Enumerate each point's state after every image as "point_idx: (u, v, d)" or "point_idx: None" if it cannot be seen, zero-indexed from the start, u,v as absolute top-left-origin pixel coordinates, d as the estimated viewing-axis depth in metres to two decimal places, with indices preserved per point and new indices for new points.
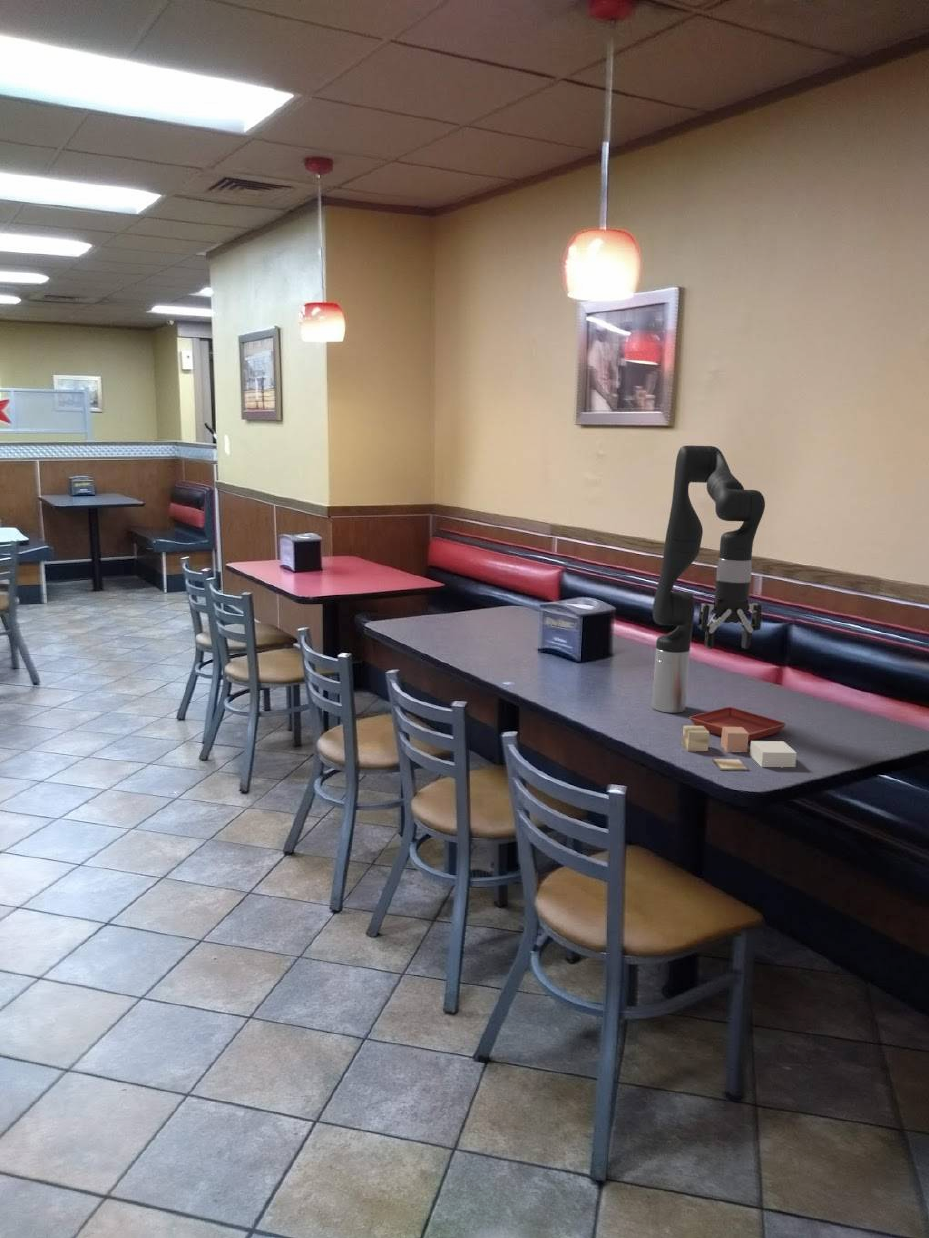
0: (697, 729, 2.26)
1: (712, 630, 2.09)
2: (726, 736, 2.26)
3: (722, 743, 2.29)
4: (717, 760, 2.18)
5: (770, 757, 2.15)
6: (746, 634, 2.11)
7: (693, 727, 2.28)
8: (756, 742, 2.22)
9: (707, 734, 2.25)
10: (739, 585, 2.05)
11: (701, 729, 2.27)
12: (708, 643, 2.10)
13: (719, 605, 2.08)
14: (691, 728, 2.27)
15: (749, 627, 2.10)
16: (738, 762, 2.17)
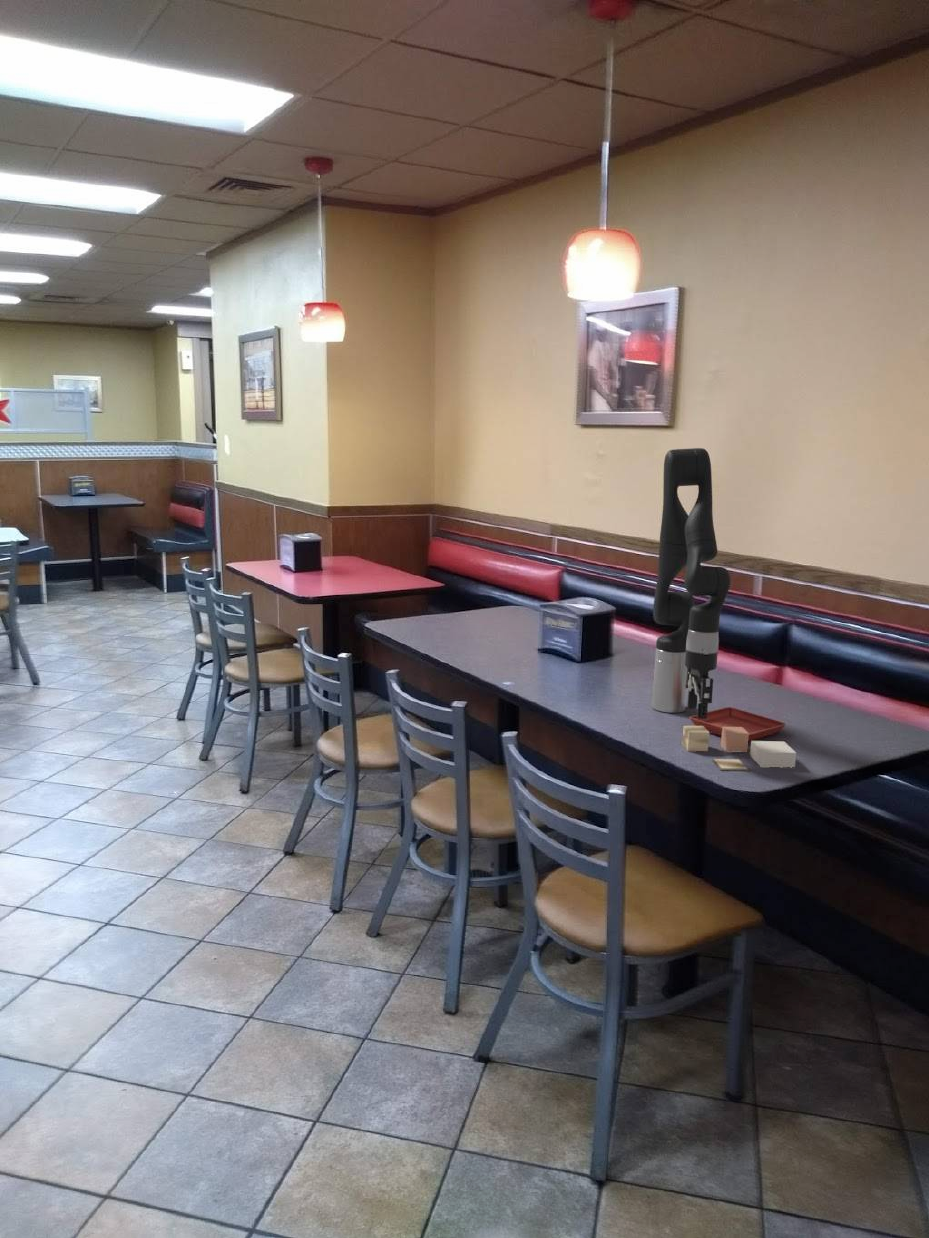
0: (697, 729, 2.26)
1: None
2: (726, 736, 2.26)
3: (722, 743, 2.29)
4: (717, 760, 2.18)
5: (769, 757, 2.15)
6: (696, 695, 2.29)
7: (693, 727, 2.28)
8: (756, 742, 2.22)
9: (707, 734, 2.25)
10: None
11: (701, 729, 2.27)
12: None
13: None
14: (691, 728, 2.27)
15: None
16: (738, 762, 2.17)
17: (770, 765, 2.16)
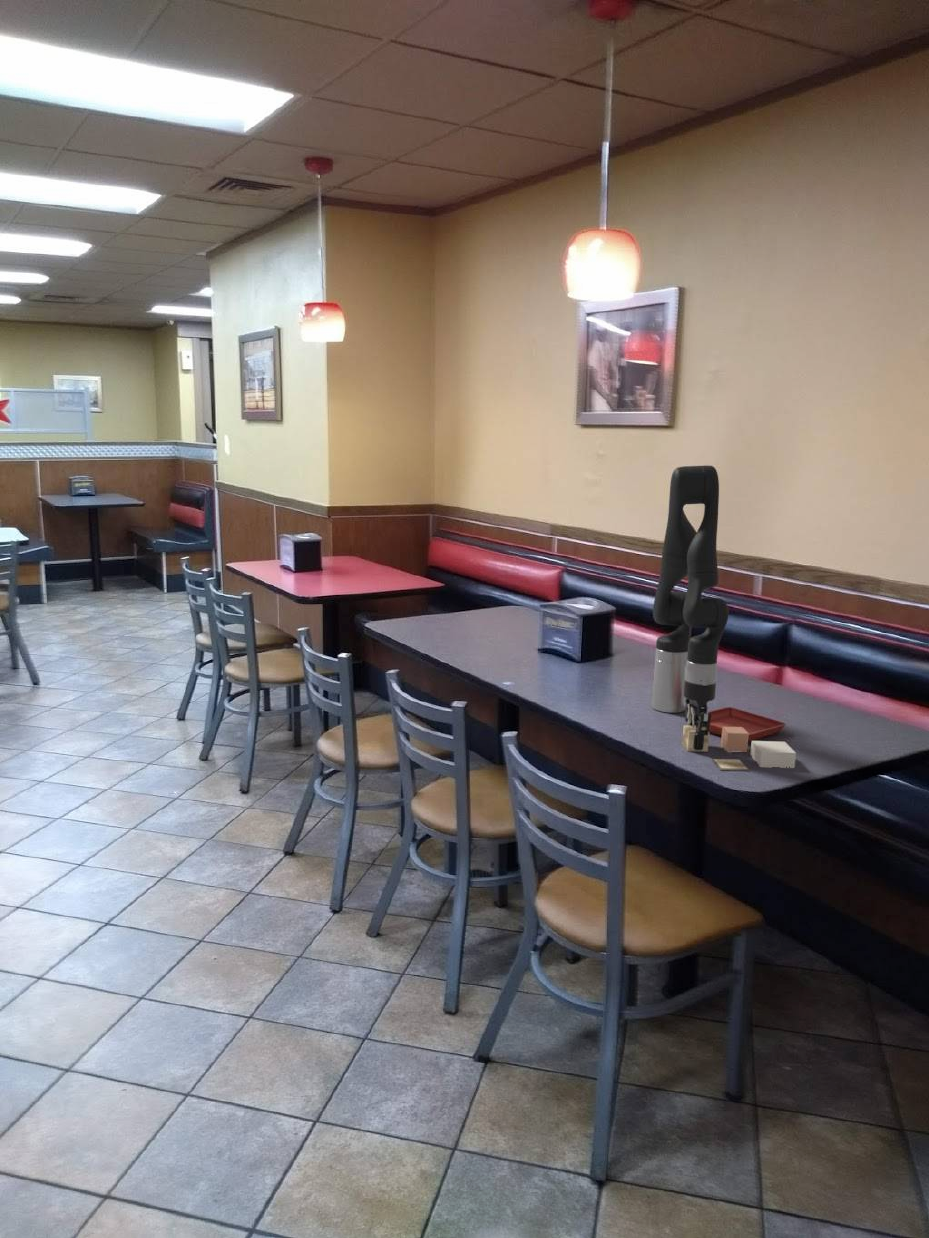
0: None
1: None
2: (726, 736, 2.26)
3: (722, 743, 2.29)
4: (717, 760, 2.18)
5: (769, 757, 2.15)
6: None
7: (693, 727, 2.28)
8: (756, 742, 2.22)
9: None
10: None
11: (701, 728, 2.27)
12: None
13: None
14: (691, 727, 2.27)
15: None
16: (738, 762, 2.17)
17: (769, 765, 2.16)
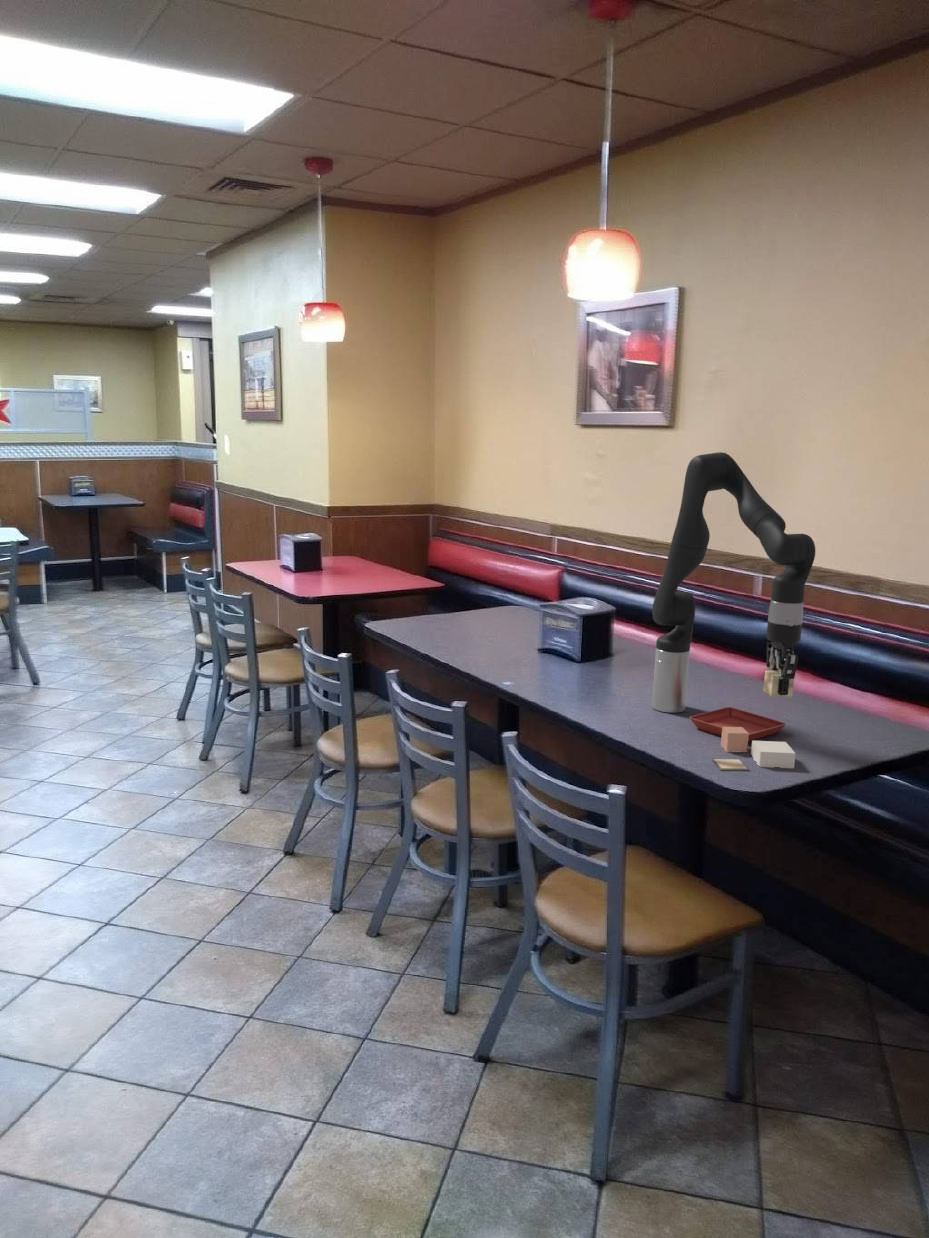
0: None
1: None
2: (726, 736, 2.26)
3: (722, 743, 2.29)
4: (717, 760, 2.18)
5: (768, 756, 2.15)
6: None
7: (776, 671, 2.17)
8: (757, 742, 2.22)
9: None
10: None
11: None
12: None
13: None
14: (773, 672, 2.16)
15: None
16: (738, 762, 2.17)
17: (769, 765, 2.16)
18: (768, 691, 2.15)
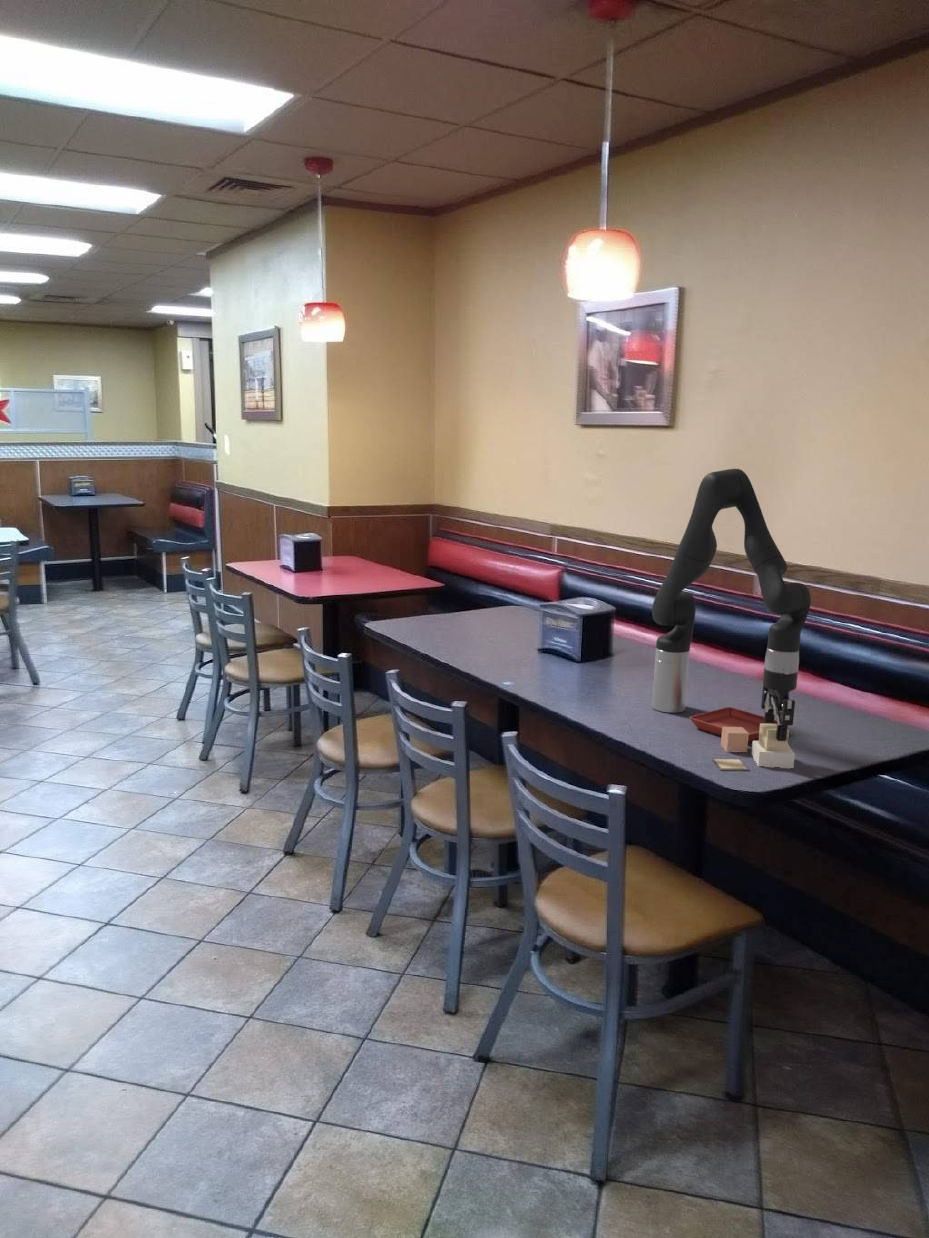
0: (775, 727, 2.17)
1: None
2: (726, 736, 2.26)
3: (722, 743, 2.29)
4: (717, 760, 2.18)
5: (767, 756, 2.16)
6: (773, 716, 2.22)
7: (770, 725, 2.19)
8: (757, 742, 2.22)
9: (787, 732, 2.16)
10: None
11: None
12: None
13: None
14: (768, 725, 2.19)
15: None
16: (738, 762, 2.17)
17: (768, 765, 2.16)
18: (763, 745, 2.18)
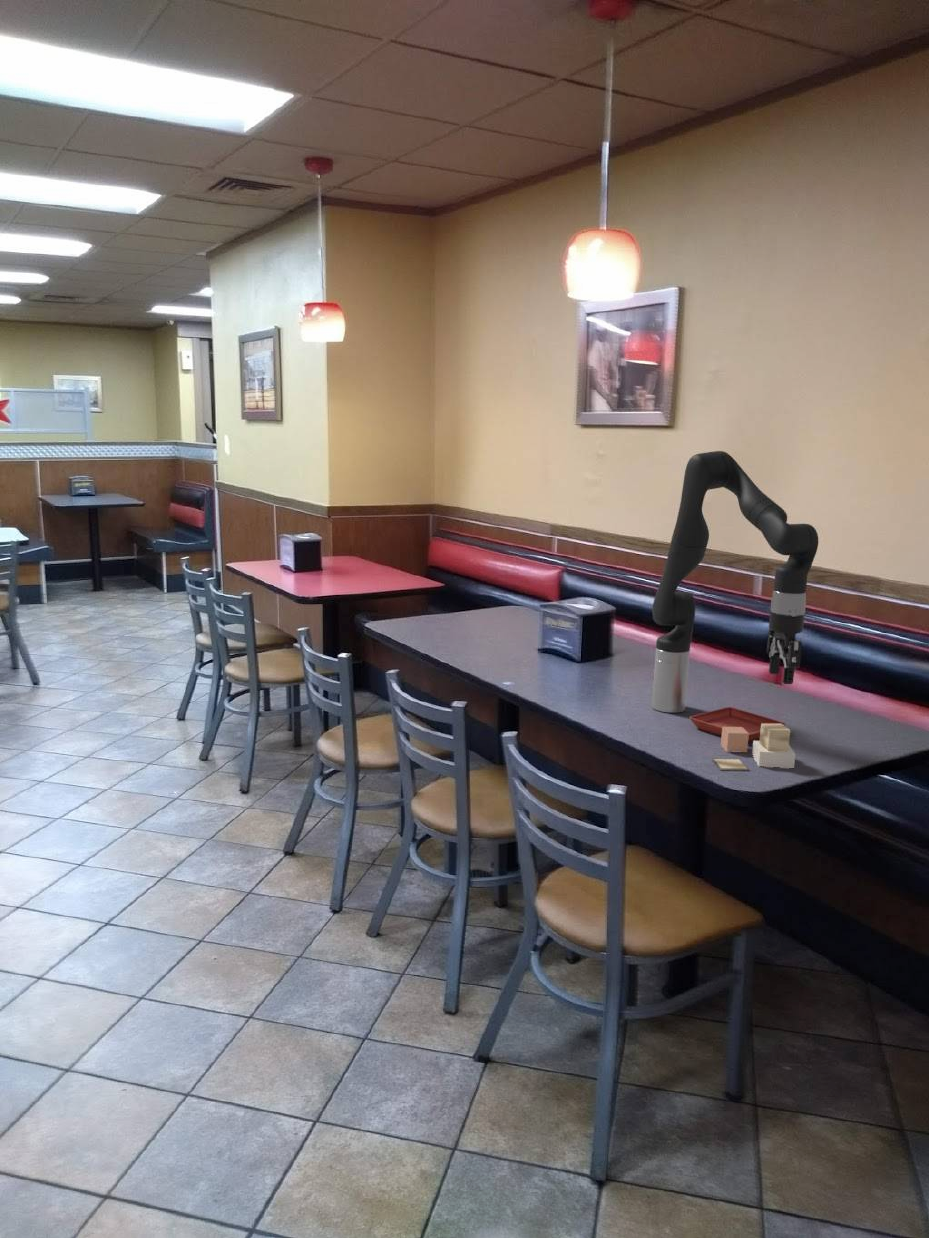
0: (777, 727, 2.17)
1: None
2: (726, 736, 2.26)
3: (722, 743, 2.29)
4: (717, 760, 2.18)
5: (767, 757, 2.15)
6: (779, 660, 2.19)
7: (772, 725, 2.19)
8: (758, 742, 2.22)
9: (788, 732, 2.16)
10: None
11: (780, 727, 2.18)
12: None
13: None
14: (769, 726, 2.18)
15: None
16: (738, 762, 2.17)
17: (768, 765, 2.16)
18: (764, 745, 2.18)
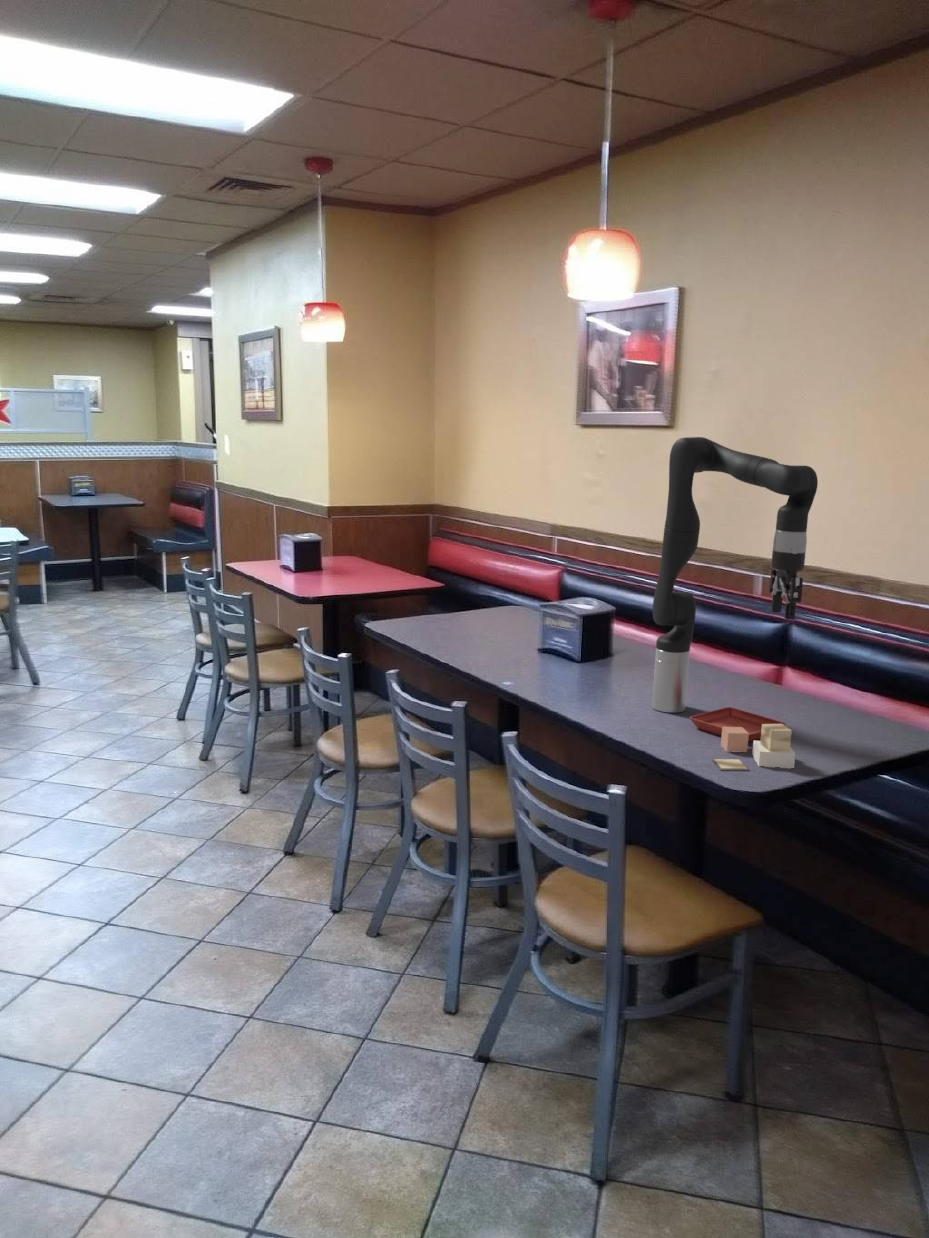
0: (778, 727, 2.17)
1: None
2: (726, 736, 2.26)
3: (722, 743, 2.29)
4: (717, 760, 2.18)
5: (767, 756, 2.16)
6: (781, 599, 2.28)
7: (772, 725, 2.19)
8: (758, 742, 2.22)
9: (789, 732, 2.16)
10: None
11: (781, 727, 2.18)
12: None
13: None
14: (770, 726, 2.18)
15: None
16: (738, 762, 2.17)
17: (768, 765, 2.16)
18: (766, 745, 2.18)
